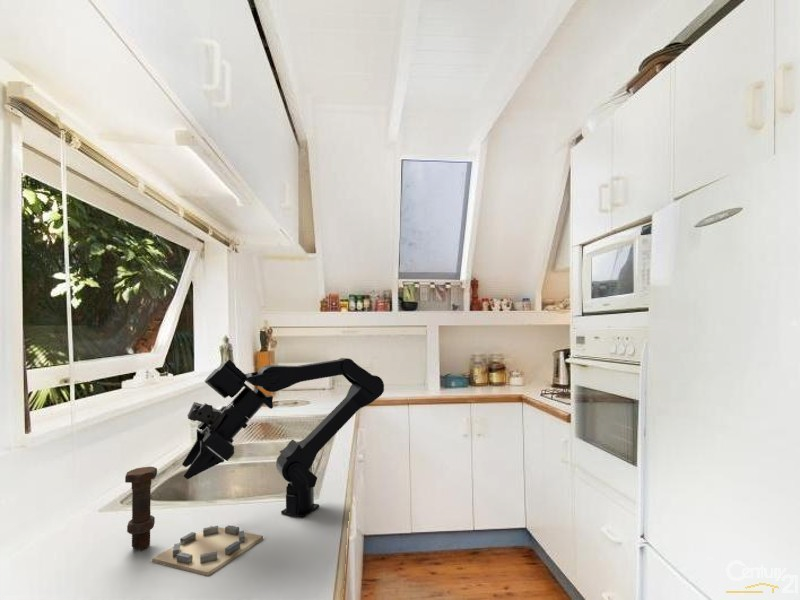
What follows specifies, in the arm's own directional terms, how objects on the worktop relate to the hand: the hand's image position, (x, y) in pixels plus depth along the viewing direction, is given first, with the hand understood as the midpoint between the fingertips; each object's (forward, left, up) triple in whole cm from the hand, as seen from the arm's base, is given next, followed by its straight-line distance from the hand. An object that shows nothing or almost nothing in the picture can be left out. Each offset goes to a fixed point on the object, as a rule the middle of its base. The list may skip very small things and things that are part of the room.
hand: (184, 471), depth 90 cm
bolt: (+6, -5, -14) cm, 16 cm away
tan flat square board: (+2, +9, -13) cm, 16 cm away
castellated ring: (+2, +9, -13) cm, 16 cm away
